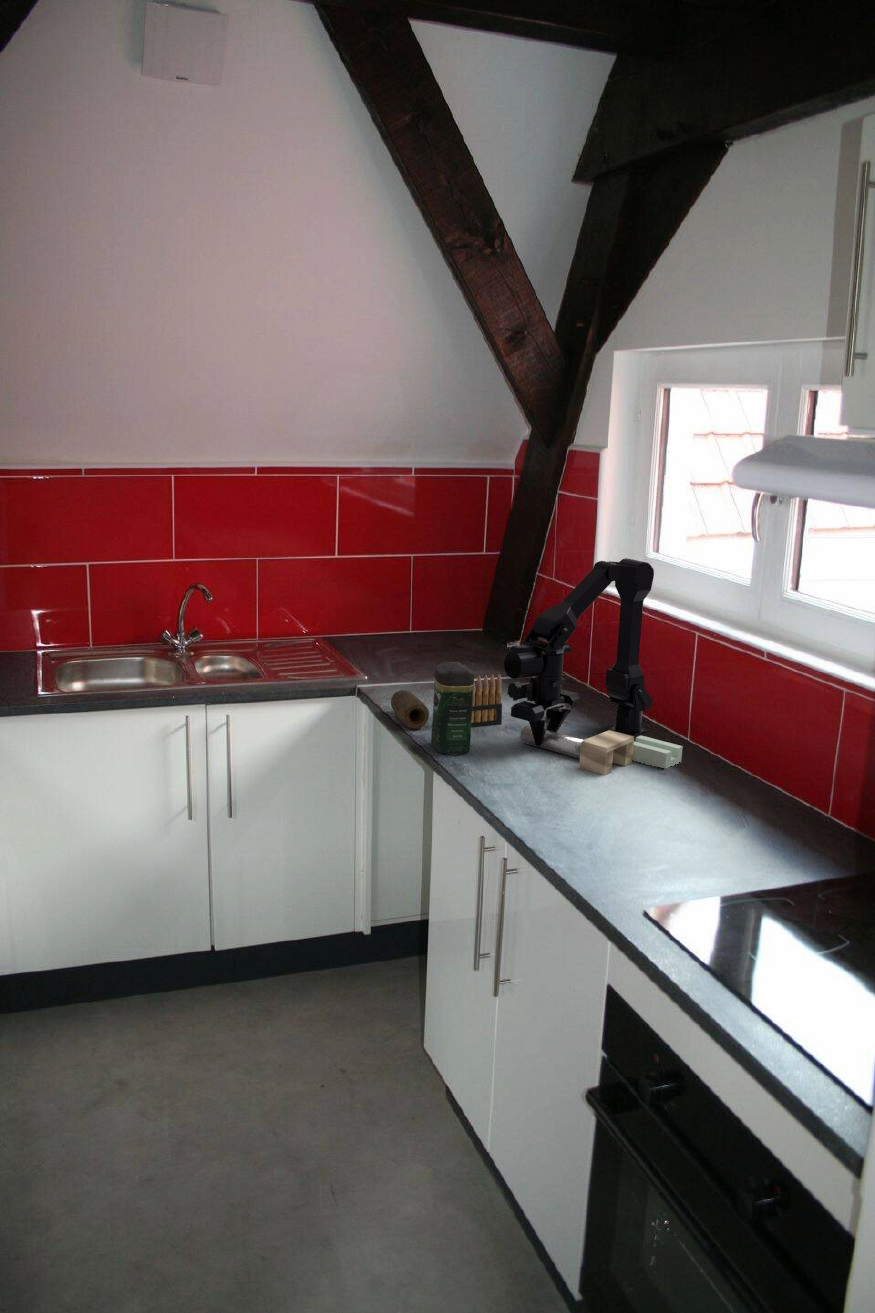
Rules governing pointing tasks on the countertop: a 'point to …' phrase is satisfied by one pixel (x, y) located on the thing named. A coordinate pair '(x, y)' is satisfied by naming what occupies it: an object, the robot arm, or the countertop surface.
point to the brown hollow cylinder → (409, 709)
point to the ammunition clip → (487, 703)
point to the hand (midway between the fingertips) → (543, 743)
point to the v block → (656, 752)
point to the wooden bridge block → (606, 751)
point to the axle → (553, 742)
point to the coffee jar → (452, 708)
